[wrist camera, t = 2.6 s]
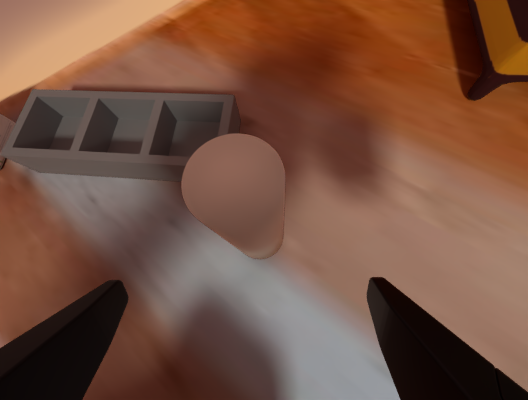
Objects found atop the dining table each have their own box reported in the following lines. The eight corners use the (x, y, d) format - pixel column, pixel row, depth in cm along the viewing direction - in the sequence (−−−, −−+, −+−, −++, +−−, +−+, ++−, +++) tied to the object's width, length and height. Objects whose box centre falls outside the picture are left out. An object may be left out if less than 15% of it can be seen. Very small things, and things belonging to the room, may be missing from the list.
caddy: (38, 172, 24) (0, 155, 21) (63, 113, 26) (32, 89, 23) (230, 184, 22) (221, 167, 19) (240, 120, 24) (234, 94, 21)
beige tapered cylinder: (233, 257, 20) (171, 225, 9) (239, 211, 21) (192, 131, 10) (281, 261, 20) (281, 234, 8) (284, 214, 21) (288, 135, 10)
